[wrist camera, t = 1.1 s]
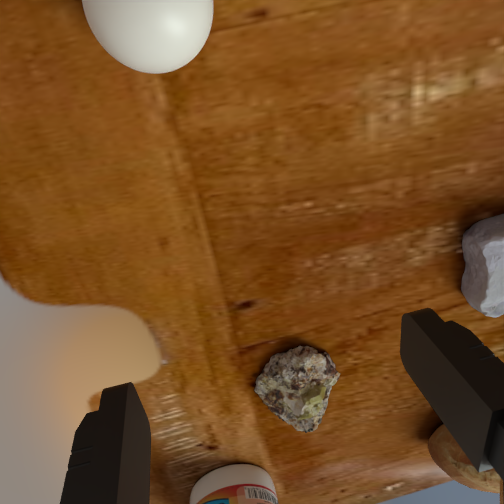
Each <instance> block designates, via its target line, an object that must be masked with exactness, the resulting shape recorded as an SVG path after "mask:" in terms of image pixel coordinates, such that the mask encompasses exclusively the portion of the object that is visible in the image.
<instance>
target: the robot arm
mask: <svg viewBox="0 0 504 504" xmlns="http://www.w3.org/2000/svg"><path fill="white" fill-rule="evenodd" d="M400 355H401V359H402V362H403V365H404V367H405V369H406V371H407V373H408V374H409V375H410V377H411V378H412V380H413V381H414V382H415V384H416V385H417V387H418V388H419V389H420V391H421V392H422V394H423V395H424V397H425V398H426V399H427V401H428V402H429V404H430V405H431V406H432V408H433V409H434V411H435V412H436V413H437V415H438V416H439V418H440V419H441V421H442V422H443V423H444V425H445V426H446V428H447V429H448V430H449V432H450V433H451V435H452V436H453V437H454V439H455V440H456V442H457V443H458V444H459V446H460V447H461V449H462V450H463V452H464V453H465V454H466V456H467V457H468V459H469V460H470V461H471V463H472V464H473V466H474V467H475V468H476V470H477V471H478V473H479V472H482V471H486V470H489V469H492V468H494V469H495V471H496V472H497V473H498V475H499V476H500V477H501V480H500V504H504V363H503V362H502V361H501V360H500V359H499V358H498V357H495V356H494V353H493V352H492V351H491V350H490V349H489V348H488V347H487V346H484V345H483V342H481V341H480V340H479V339H478V338H477V337H476V336H475V335H474V334H473V333H472V332H471V331H470V330H469V329H467V328H465V327H463V326H461V325H459V324H458V323H456V322H454V321H448V322H444V321H443V320H442V319H441V318H440V317H439V316H438V315H437V314H436V313H435V312H434V311H433V310H432V309H430V308H425V309H421V310H418V311H414V312H410V313H406V314H404V315H403V316H402V324H401V344H400ZM71 452H72V455H70V459H69V464H68V471H67V473H66V478H65V482H64V488H63V492H62V496H61V501H60V504H149V492H150V455H151V432H150V425H149V421H148V418H147V415H146V413H145V410H144V408H143V406H142V403H141V401H140V399H139V396H138V394H137V392H136V389H135V387H134V385H133V383H131V382H129V383H125V384H121V385H117V386H113V387H109V388H105V389H103V391H102V394H101V400H100V406H99V410H98V411H94V412H90V413H87V414H86V415H85V417H84V419H83V420H82V422H81V424H80V425H79V427H78V428H77V430H76V432H75V436H74V441H73V446H72V450H71Z"/></svg>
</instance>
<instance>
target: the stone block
mask: <svg viewBox="0 0 504 504" xmlns="http://www.w3.org/2000/svg"><path fill="white" fill-rule="evenodd" d="M462 250H463V252H464V260H465V261H466V267H465V271H464V274H463V277H462V285H461V291H462V293H463V294H464V296H465V297H466V299H467V301H468V303H469V304H470V305H471V306H472V307H473V308H474V309H476V310H478V311H479V312H481V313H483V314H485V315H486V316H491V317H499V316H501V315H503V314H504V214H501V215H497V216H494V217H490V218H486V219H484V220H481V221H479V222H477V223H475V224H474V225H473V226H472V227H471V228H470V229H468V230H466V232H465V233H464V234H463V240H462Z"/></svg>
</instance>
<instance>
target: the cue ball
mask: <svg viewBox="0 0 504 504" xmlns="http://www.w3.org/2000/svg"><path fill="white" fill-rule="evenodd" d="M82 4H83V9H84V13H85V16H86V19H87V21H88V24H89V26H90V28H91V30H92V32H93V34H94V35H95V37H96V39H97V40H98V42H99V43H100V44H101V45H102V47H103V48H104V49H105V50H106V51H107V52H108V53H109V54H110V55H111V56H112V57H114V58H115V59H116V60H117V61H119V62H120V63H122V64H124V65H125V66H127V67H130V68H132V69H134V70H137V71H140V72H145V73H156V74H158V73H166V72H170V71H174V70H176V69H179V68H181V67H182V66H184V65H186V64H187V63H189V62H190V61H191V60H192V59H193V58H194V57H195V56H196V55H197V54H198V53H199V52H200V50H201V49H202V47H203V46H204V44H205V42H206V40H207V38H208V35H209V32H210V29H211V25H212V19H213V0H82Z"/></svg>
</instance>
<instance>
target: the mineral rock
mask: <svg viewBox="0 0 504 504" xmlns="http://www.w3.org/2000/svg"><path fill="white" fill-rule="evenodd" d="M339 375H340V373H338V372H337V371H336V370H335V364H334V363H333V361H332V360H331V358H330V355H329V354H327V353H326V352H325V353H323V354H322V353H318V351H317V350H316V349H314V348H312V347H309V346H305V347H302V346H298V347H297V348H295V349H290V350H289V351H288V352H286V353H278V354H276V355H273V356H272V357H271V359H270V361H269V363H267V364H266V365H265V367H264V369H263V370H262V373H261V374H260V376H258V377H257V379H256V380H257V381H256V387H255V389H254V391H255V393H257V394H258V395H259V397H260V398H261V399H262V400H263V403H265V404H266V405H267V406H268V408H269V409H270V410H271V412H273V413H275V415H277V416H278V417H279V419H281V418H282V420H283V421H286V422H287V423H288V424H291V425H293V427H294V428H295V429H296V430H297V431H305V433H306V432H311V431H314V430H315V429H316V428H317V426H318V424H320V423H321V420H322V416H323V415H324V412H325V410H326V408H327V403H328V396H329V394H330V390H331V388H332V387H331V386H333V385H334V384H336V382H337V380H338V379H339Z"/></svg>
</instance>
